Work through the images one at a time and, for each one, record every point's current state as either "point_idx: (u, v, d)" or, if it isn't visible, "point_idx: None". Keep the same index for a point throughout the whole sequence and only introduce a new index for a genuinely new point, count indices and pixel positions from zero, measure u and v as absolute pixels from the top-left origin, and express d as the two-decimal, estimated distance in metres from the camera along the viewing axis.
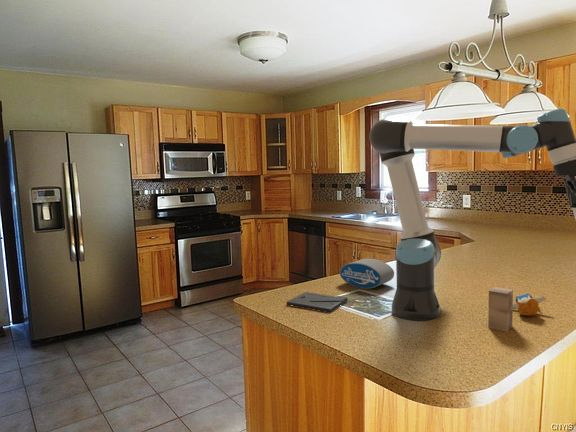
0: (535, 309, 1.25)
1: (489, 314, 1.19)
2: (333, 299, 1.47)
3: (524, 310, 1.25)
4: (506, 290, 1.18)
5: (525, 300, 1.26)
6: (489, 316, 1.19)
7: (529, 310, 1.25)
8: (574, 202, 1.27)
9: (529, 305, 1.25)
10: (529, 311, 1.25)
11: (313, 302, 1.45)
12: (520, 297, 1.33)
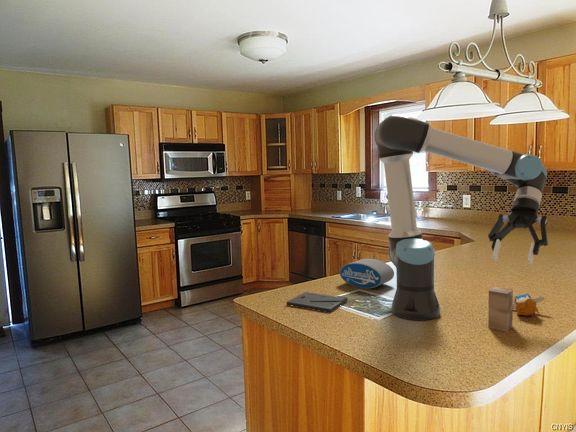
0: (533, 309, 1.25)
1: (489, 314, 1.19)
2: (333, 299, 1.47)
3: (522, 310, 1.26)
4: (506, 290, 1.18)
5: (523, 300, 1.27)
6: (489, 316, 1.19)
7: (527, 310, 1.25)
8: (501, 236, 1.31)
9: (527, 305, 1.25)
10: (527, 311, 1.25)
11: (313, 302, 1.45)
12: (518, 297, 1.34)
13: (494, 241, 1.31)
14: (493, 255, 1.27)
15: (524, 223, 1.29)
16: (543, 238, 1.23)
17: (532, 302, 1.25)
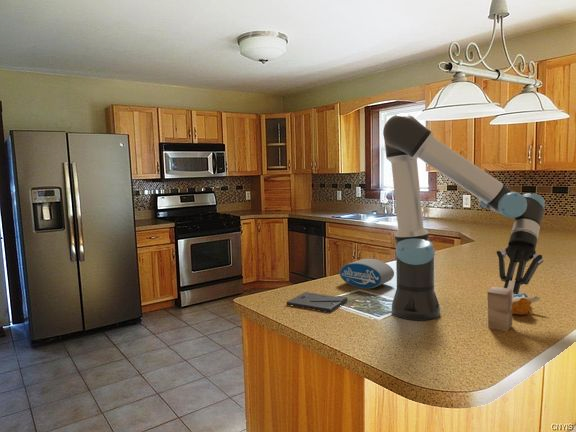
0: (526, 308, 1.26)
1: (489, 314, 1.19)
2: (333, 299, 1.47)
3: (515, 309, 1.27)
4: (505, 290, 1.17)
5: (517, 299, 1.28)
6: (489, 316, 1.19)
7: (520, 309, 1.26)
8: (511, 274, 1.24)
9: (520, 304, 1.26)
10: (520, 310, 1.26)
11: (313, 302, 1.45)
12: (514, 296, 1.34)
13: (506, 282, 1.24)
14: None
15: None
16: (524, 277, 1.21)
17: (526, 301, 1.26)
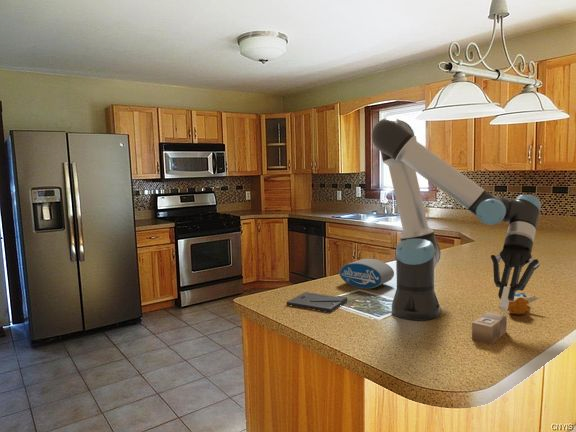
0: (523, 308, 1.26)
1: None
2: (333, 299, 1.47)
3: (512, 308, 1.27)
4: (486, 332, 1.09)
5: (514, 299, 1.28)
6: None
7: (517, 308, 1.26)
8: (506, 280, 1.19)
9: (517, 304, 1.26)
10: (517, 309, 1.26)
11: (313, 302, 1.45)
12: None
13: (501, 288, 1.18)
14: (501, 305, 1.15)
15: None
16: (520, 283, 1.16)
17: (523, 301, 1.26)
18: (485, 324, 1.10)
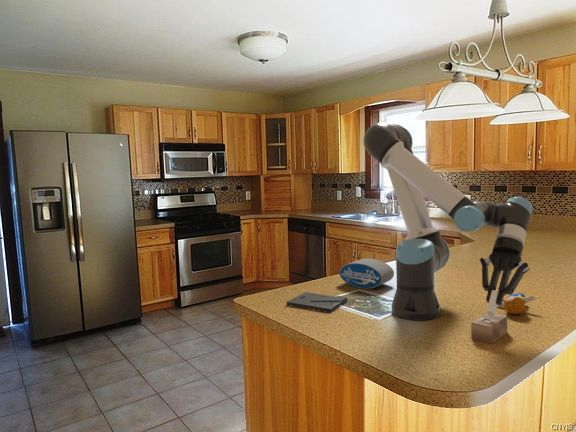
0: (520, 307, 1.26)
1: None
2: (333, 299, 1.47)
3: (509, 308, 1.28)
4: (485, 332, 1.09)
5: (511, 298, 1.29)
6: None
7: (514, 308, 1.27)
8: (495, 283, 1.16)
9: (514, 303, 1.27)
10: (514, 309, 1.27)
11: (313, 302, 1.45)
12: (511, 296, 1.35)
13: (489, 292, 1.15)
14: (488, 309, 1.11)
15: None
16: (508, 286, 1.12)
17: (520, 301, 1.27)
18: (484, 324, 1.10)
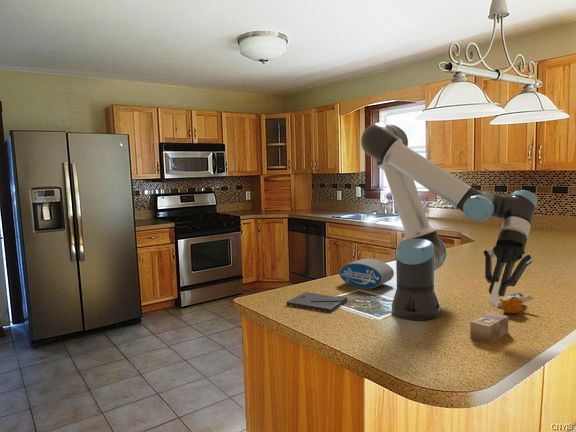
0: (517, 307, 1.27)
1: None
2: (333, 299, 1.47)
3: (506, 307, 1.28)
4: (484, 332, 1.09)
5: (508, 298, 1.29)
6: None
7: (511, 308, 1.27)
8: (498, 275, 1.17)
9: (511, 303, 1.27)
10: (510, 308, 1.27)
11: (313, 302, 1.45)
12: (509, 295, 1.36)
13: (492, 283, 1.16)
14: (490, 301, 1.12)
15: None
16: (511, 278, 1.13)
17: (517, 300, 1.27)
18: (483, 323, 1.10)
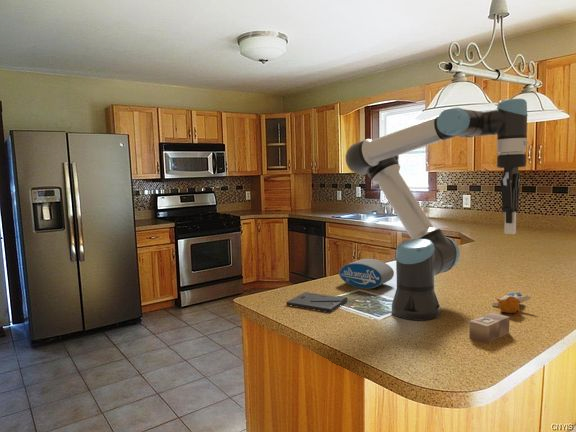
0: (514, 307, 1.27)
1: None
2: (333, 299, 1.47)
3: (503, 307, 1.29)
4: (482, 331, 1.10)
5: (505, 297, 1.30)
6: None
7: (507, 307, 1.28)
8: None
9: (508, 302, 1.28)
10: (507, 308, 1.28)
11: (313, 302, 1.45)
12: None
13: None
14: None
15: None
16: None
17: (514, 300, 1.28)
18: (482, 323, 1.10)
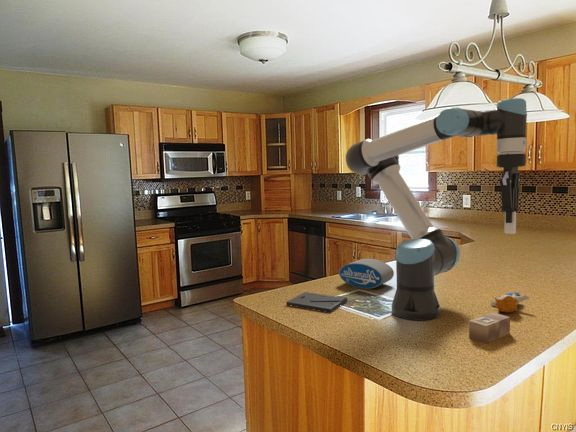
0: (511, 306, 1.28)
1: None
2: (333, 299, 1.47)
3: (500, 306, 1.29)
4: (481, 331, 1.10)
5: (503, 297, 1.30)
6: None
7: (505, 307, 1.28)
8: None
9: (505, 302, 1.29)
10: (505, 308, 1.28)
11: (313, 302, 1.45)
12: (505, 295, 1.36)
13: None
14: None
15: None
16: None
17: (511, 299, 1.28)
18: (481, 323, 1.10)
